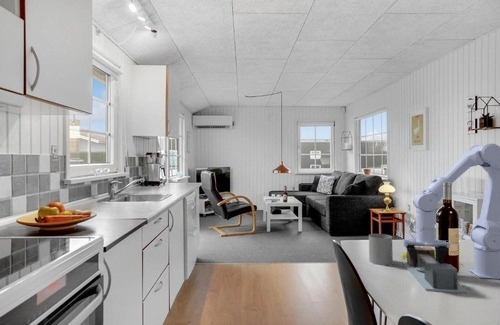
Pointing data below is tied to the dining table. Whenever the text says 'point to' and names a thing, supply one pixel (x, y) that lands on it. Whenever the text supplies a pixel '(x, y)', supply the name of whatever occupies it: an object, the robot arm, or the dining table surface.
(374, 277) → the dining table surface
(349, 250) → the dining table surface
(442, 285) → the sleeve
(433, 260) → the bar
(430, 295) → the dining table surface
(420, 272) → the board
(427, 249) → the socket
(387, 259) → the cup
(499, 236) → the robot arm
